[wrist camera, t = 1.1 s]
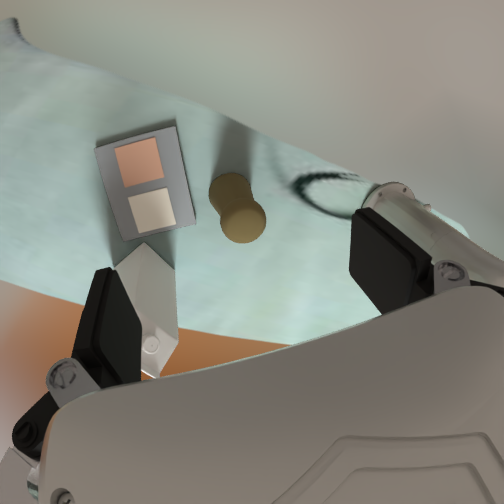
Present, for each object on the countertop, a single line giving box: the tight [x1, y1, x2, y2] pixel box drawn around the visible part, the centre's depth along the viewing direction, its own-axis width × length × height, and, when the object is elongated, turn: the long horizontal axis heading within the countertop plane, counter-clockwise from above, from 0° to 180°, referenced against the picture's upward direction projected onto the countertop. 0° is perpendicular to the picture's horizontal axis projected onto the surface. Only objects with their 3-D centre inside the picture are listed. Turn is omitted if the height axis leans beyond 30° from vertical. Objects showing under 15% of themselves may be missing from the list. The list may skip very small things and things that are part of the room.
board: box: [94, 126, 196, 242], centre depth 38 cm, size 11×14×1 cm
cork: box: [209, 173, 266, 243], centre depth 37 cm, size 6×6×11 cm
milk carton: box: [113, 242, 179, 378], centre depth 37 cm, size 7×7×19 cm
